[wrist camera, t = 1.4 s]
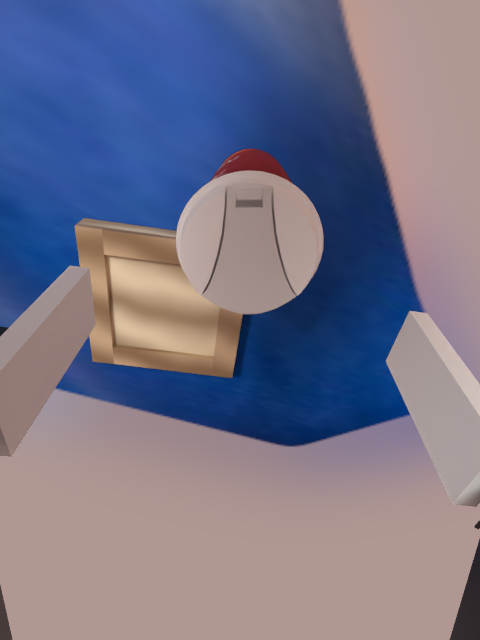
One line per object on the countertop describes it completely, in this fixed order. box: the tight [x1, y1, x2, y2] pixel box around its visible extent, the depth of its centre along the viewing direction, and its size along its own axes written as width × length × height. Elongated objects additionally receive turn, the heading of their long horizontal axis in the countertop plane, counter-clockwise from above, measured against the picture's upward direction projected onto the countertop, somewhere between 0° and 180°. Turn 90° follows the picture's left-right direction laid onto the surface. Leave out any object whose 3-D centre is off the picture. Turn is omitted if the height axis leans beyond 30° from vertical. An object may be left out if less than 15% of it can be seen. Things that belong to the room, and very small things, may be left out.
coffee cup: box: [176, 149, 324, 314], centre depth 25 cm, size 8×8×15 cm
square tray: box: [75, 218, 243, 378], centre depth 38 cm, size 16×16×2 cm
